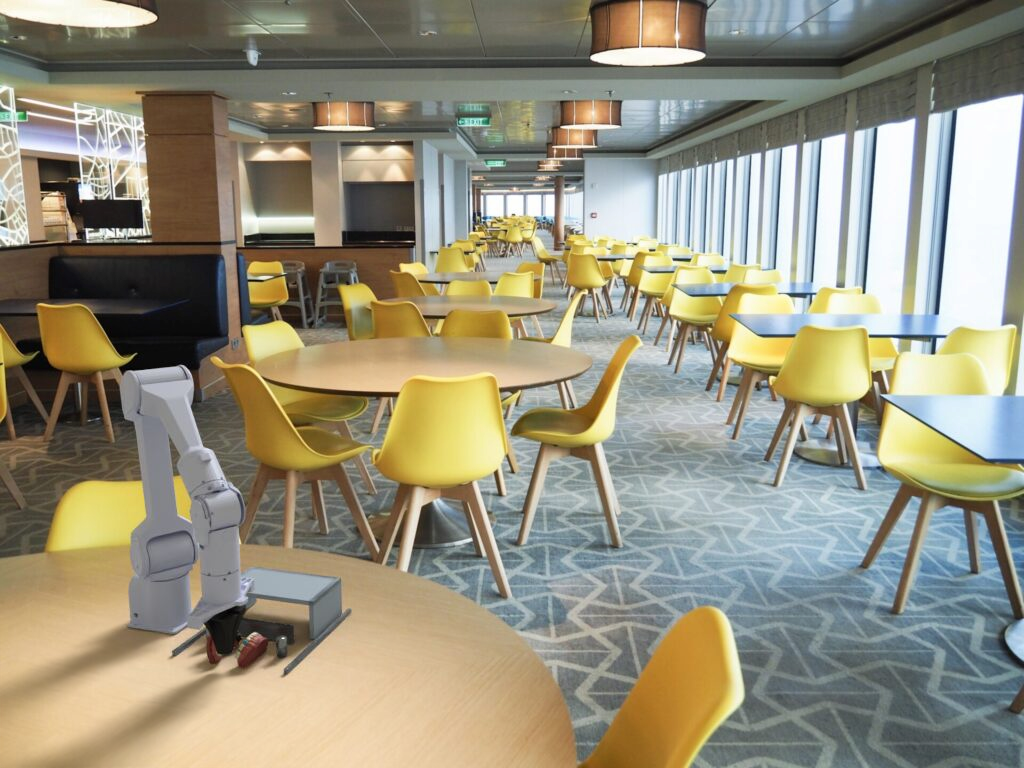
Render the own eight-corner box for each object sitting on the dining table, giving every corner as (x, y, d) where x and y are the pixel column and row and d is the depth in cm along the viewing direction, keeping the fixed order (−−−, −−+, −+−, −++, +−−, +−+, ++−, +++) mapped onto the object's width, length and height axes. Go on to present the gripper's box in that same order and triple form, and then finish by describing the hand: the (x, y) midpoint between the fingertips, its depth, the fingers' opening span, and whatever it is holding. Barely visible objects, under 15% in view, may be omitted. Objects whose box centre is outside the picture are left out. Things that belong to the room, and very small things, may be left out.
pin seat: (172, 655, 137) (171, 638, 136) (249, 598, 158) (248, 583, 157) (287, 674, 132) (286, 656, 131) (351, 613, 153) (351, 597, 152)
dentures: (250, 642, 132) (200, 634, 135) (251, 671, 133) (201, 662, 135) (273, 625, 138) (225, 618, 141) (274, 654, 139) (226, 646, 141)
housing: (220, 625, 147) (218, 588, 146) (252, 601, 157) (251, 566, 155) (314, 639, 143) (313, 601, 141) (342, 613, 152) (341, 577, 151)
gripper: (215, 591, 123) (220, 679, 125) (270, 554, 137) (273, 635, 139) (172, 585, 125) (177, 672, 127) (230, 549, 138) (234, 629, 141)
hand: (225, 652), depth 133 cm, fingers closed
